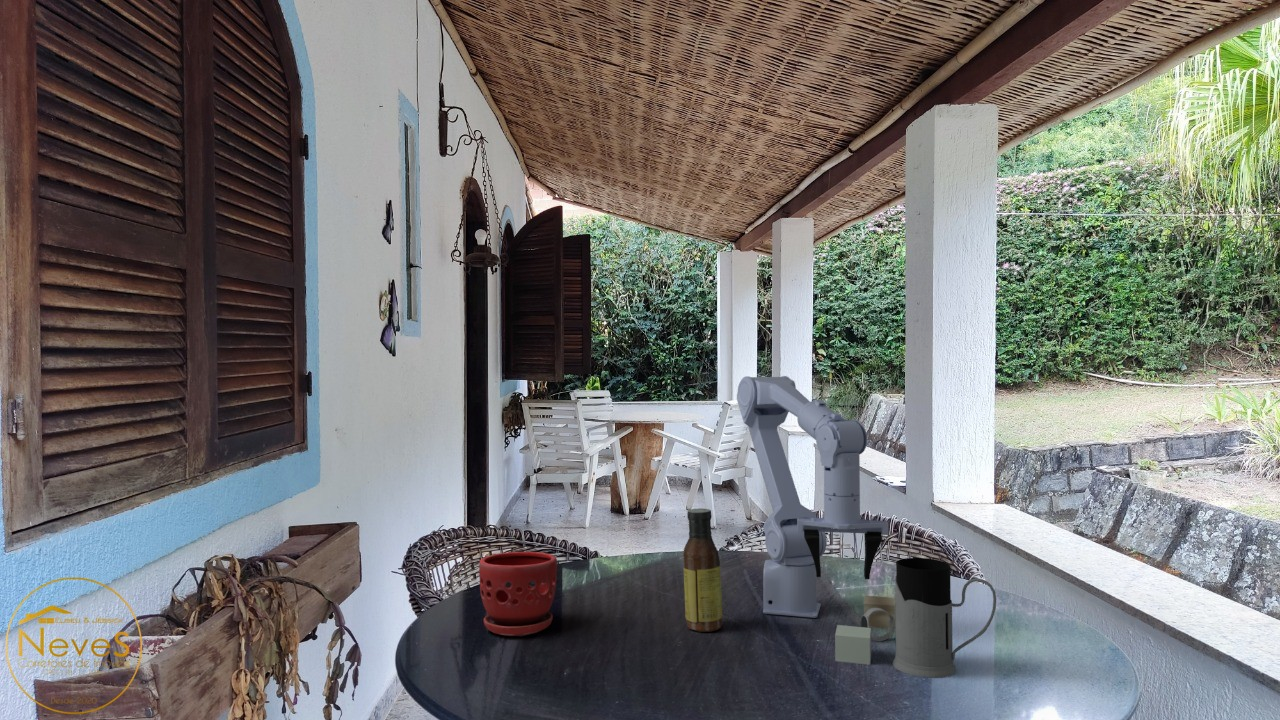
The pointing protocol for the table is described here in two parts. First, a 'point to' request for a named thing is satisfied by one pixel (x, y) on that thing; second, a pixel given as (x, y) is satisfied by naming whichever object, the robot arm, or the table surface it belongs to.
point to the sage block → (853, 644)
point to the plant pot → (518, 591)
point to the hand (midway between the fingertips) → (842, 576)
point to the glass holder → (927, 618)
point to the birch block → (879, 617)
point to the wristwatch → (866, 624)
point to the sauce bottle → (702, 575)
